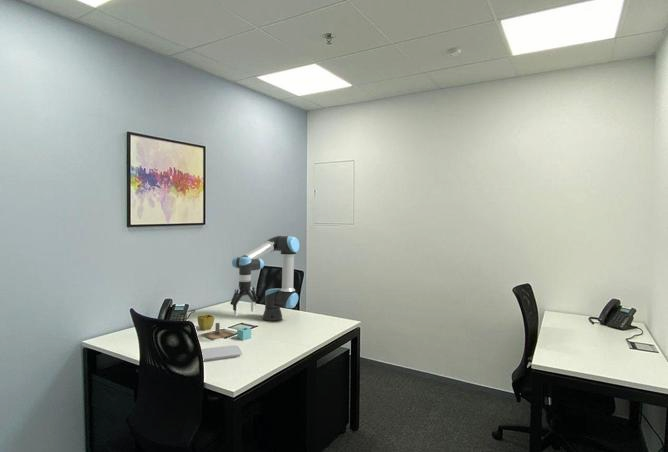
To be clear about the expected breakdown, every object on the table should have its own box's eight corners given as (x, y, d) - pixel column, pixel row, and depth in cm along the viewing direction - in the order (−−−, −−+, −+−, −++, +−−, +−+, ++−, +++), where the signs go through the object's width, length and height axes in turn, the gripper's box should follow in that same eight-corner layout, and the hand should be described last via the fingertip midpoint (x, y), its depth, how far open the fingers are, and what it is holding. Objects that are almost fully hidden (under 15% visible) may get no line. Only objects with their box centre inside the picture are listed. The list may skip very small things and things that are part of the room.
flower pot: (214, 329, 267) (214, 316, 266) (203, 331, 260) (203, 318, 260) (208, 326, 273) (208, 314, 272) (196, 329, 266) (196, 316, 266)
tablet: (191, 354, 220) (191, 350, 220) (237, 348, 231) (237, 344, 231) (194, 364, 205) (194, 360, 205) (242, 357, 216) (242, 353, 216)
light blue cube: (245, 335, 253) (245, 326, 253) (251, 338, 249) (251, 328, 249) (237, 338, 248) (237, 329, 248) (243, 340, 244) (243, 331, 244)
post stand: (221, 330, 265) (221, 319, 264) (233, 334, 256) (234, 322, 256) (200, 335, 252) (200, 323, 252) (212, 340, 243) (213, 328, 243)
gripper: (256, 278, 260) (255, 309, 260) (225, 282, 241) (224, 315, 241) (263, 279, 255) (262, 311, 256) (232, 283, 236) (231, 318, 236)
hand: (244, 313), depth 248 cm, fingers open, 13 cm apart
